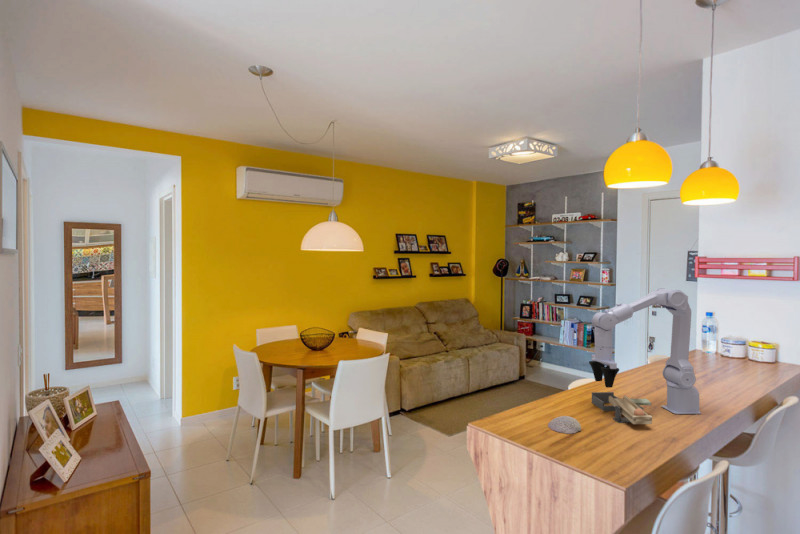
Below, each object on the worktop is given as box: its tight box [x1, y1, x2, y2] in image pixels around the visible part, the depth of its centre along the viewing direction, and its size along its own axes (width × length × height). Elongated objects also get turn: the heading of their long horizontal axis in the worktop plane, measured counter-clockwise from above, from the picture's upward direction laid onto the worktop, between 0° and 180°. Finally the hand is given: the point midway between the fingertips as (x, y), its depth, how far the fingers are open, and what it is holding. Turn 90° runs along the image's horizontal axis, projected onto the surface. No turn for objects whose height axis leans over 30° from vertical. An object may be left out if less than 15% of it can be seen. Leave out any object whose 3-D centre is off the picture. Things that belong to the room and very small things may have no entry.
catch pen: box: [591, 391, 619, 412], centre depth 160 cm, size 8×9×4 cm
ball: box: [634, 408, 645, 416], centre depth 140 cm, size 3×3×3 cm
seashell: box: [547, 415, 582, 435], centre depth 141 cm, size 10×6×10 cm
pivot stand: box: [612, 405, 644, 424], centre depth 146 cm, size 9×4×5 cm, turn 91°
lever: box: [609, 395, 653, 425], centre depth 146 cm, size 13×16×2 cm
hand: (603, 384), depth 155 cm, fingers open, 7 cm apart
